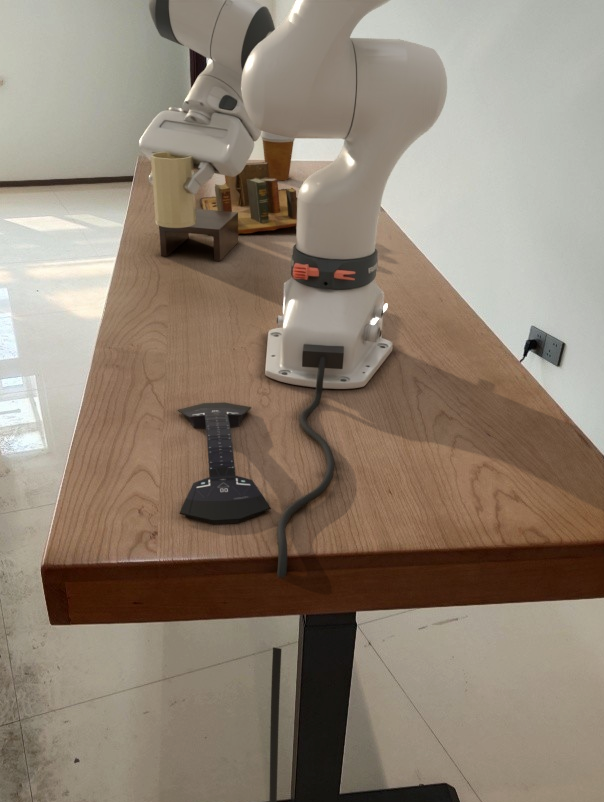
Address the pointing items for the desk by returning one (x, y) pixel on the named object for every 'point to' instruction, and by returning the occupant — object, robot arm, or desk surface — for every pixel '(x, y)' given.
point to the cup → (172, 190)
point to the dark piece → (221, 470)
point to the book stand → (255, 200)
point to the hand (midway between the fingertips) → (171, 187)
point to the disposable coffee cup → (277, 154)
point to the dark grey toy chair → (204, 232)
